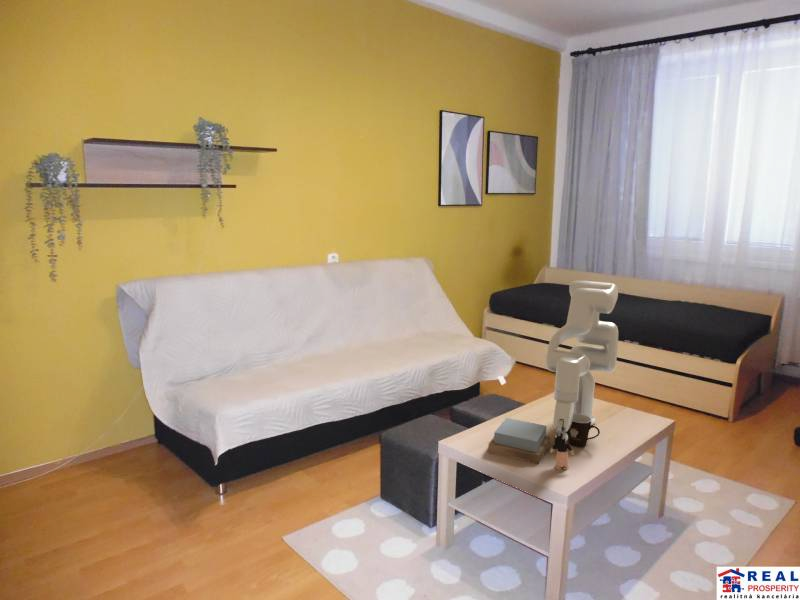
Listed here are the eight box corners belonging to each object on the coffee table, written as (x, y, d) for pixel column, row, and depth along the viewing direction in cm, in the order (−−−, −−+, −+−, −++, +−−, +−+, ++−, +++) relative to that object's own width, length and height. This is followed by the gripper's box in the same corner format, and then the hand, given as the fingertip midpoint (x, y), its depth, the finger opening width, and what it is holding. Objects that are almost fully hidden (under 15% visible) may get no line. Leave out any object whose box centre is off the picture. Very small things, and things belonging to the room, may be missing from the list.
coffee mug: (560, 440, 208) (562, 415, 206) (579, 437, 211) (581, 412, 209) (580, 453, 197) (582, 427, 195) (599, 450, 200) (602, 424, 198)
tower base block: (502, 435, 213) (503, 425, 212) (549, 445, 205) (550, 435, 204) (488, 454, 197) (488, 443, 196) (538, 465, 189) (539, 455, 188)
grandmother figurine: (569, 464, 189) (572, 430, 186) (573, 470, 185) (576, 434, 183) (547, 464, 188) (549, 430, 186) (550, 470, 185) (553, 434, 182)
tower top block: (505, 427, 210) (506, 417, 209) (545, 435, 203) (546, 425, 203) (493, 442, 197) (494, 432, 196) (536, 452, 190) (536, 441, 190)
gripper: (559, 385, 191) (555, 432, 194) (549, 400, 176) (545, 451, 179) (582, 389, 188) (577, 436, 191) (573, 405, 173) (568, 456, 176)
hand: (562, 443), depth 185 cm, fingers open, 9 cm apart
